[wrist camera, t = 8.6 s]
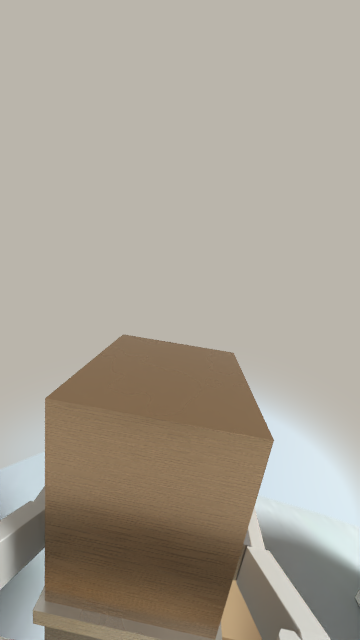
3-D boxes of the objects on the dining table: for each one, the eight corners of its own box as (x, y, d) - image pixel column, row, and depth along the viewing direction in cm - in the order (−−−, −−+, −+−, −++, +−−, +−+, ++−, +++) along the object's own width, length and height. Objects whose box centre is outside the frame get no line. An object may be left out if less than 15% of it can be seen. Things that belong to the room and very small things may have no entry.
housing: (34, 743, 8) (29, 401, 4) (101, 550, 13) (120, 332, 10) (183, 780, 7) (287, 450, 4) (188, 568, 13) (237, 351, 9)
